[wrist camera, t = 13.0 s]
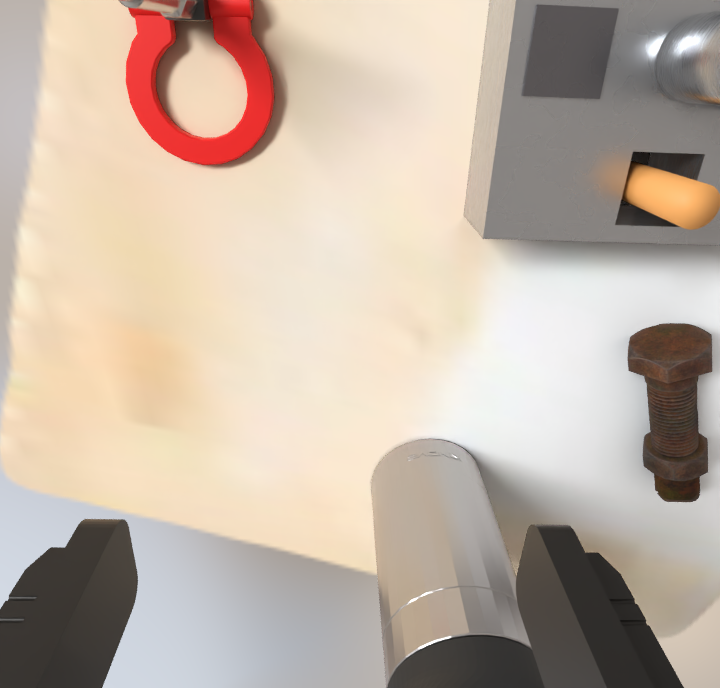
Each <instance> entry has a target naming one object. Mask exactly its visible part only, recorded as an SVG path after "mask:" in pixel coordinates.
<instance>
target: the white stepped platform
mask: <svg viewBox="0 0 720 688" xmlns="http://www.w3.org/2000/svg"><path fill="white" fill-rule="evenodd" d="M633 152H651V154H650V158H649V162H648V165H647V166H650V167H654V168H657V169H660V170H663V171H667V172H670V173H673V174H676V175H680V176H683V177H686V178H690V179H693V180H696V181H699V182H703V183H706V184H709V185H712V186H714V187H715V188H716V189H717V190H718V192H719V194H720V0H490V3H489V11H488V19H487V27H486V36H485V44H484V52H483V60H482V69H481V77H480V85H479V93H478V102H477V110H476V118H475V126H474V135H473V143H472V151H471V159H470V168H469V176H468V184H467V192H466V201H465V209H464V217H465V218H466V219H467V221H468V222H469V223H470V224H471V225H472V226H473V228H474V229H475V230H476V231H477V232H478V233H479V235H480V236H481V237H482V238H483V239H517V240H551V241H586V242H621V243H655V244H690V245H720V208H719V211H718V213H717V214H716V216H715V217H714V219H713V220H712V221H711V222H709V223H708V224H707V225H705V226H703V227H701V228H699V229H694V230H689V229H685V228H682V227H680V226H678V225H676V224H673V223H671V222H669V221H667V220H665V219H662V218H660V217H658V216H656V215H654V214H652V213H649V212H647V211H645V210H643V209H641V208H638V207H636V206H620V203H621V199H622V195H623V191H624V187H625V182H626V178H627V174H628V170H629V166H630V162H631V158H632V154H633Z"/></svg>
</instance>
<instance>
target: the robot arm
mask: <svg viewBox="0 0 720 688" xmlns="http://www.w3.org/2000/svg"><path fill="white" fill-rule="evenodd" d="M371 492H372V506H373V522H374V535H375V549H376V562H377V575H378V588H379V601H380V614H381V627H382V640H383V650H384V663H385V677H386V688H684V687H683V686H682V684H681V682H680V680H679V678H678V677H677V675H676V673H675V671H674V669H673V668H672V666H671V664H670V662H669V660H668V659H667V657H666V655H665V653H664V651H663V650H662V648H661V646H660V644H659V642H658V641H657V639H656V637H655V635H654V633H653V632H652V630H651V628H650V626H647V624H646V619H645V617H644V616H643V614H642V612H641V610H640V608H639V607H638V605H637V604H635V602H634V598H633V596H632V594H631V592H630V590H629V589H628V587H627V585H626V583H625V581H624V580H623V578H622V576H621V574H620V573H619V572H618V571H617V570H616V569H615V568H613V567H612V566H611V565H610V564H609V563H608V562H607V561H606V560H605V559H604V558H603V557H602V556H601V555H600V554H599V553H585V551H584V549H583V547H582V545H581V543H580V542H579V540H578V538H577V536H576V534H575V532H574V530H573V529H572V528H571V527H570V526H568V525H531V526H530V527H529V528H528V531H527V535H526V539H525V543H524V547H523V551H522V556H521V560H520V564H519V568H518V572H517V577H516V574H515V571H514V569H513V566H512V563H511V560H510V557H509V554H508V551H507V548H506V546H505V543H504V540H503V537H502V534H501V531H500V528H499V525H498V523H497V520H496V517H495V514H494V511H493V508H492V505H491V502H490V499H489V496H488V493H487V491H486V488H485V485H484V482H483V479H482V477H481V474H480V471H479V468H478V466H477V463H476V461H475V460H474V459H473V457H472V456H471V455H470V454H469V453H468V452H467V451H466V450H464V449H463V448H461V447H460V446H458V445H456V444H454V443H451V442H447V441H444V440H436V439H425V440H417V441H413V442H409V443H406V444H404V445H401V446H399V447H397V448H395V449H394V450H392V451H391V452H389V453H388V454H387V455H386V456H385V457H384V458H383V459H382V460H381V461H380V462H379V464H378V465H377V467H376V469H375V470H374V473H373V477H372V482H371ZM137 585H138V576H137V569H136V564H135V559H134V554H133V549H132V543H131V537H130V532H129V527H128V524H127V522H126V521H125V520H115V519H114V520H112V519H109V520H108V519H85V520H83V521H81V523H80V524H79V525H78V527H77V528H76V530H75V532H74V534H73V535H72V537H71V539H70V540H69V542H68V544H67V546H66V547H65V548H53V547H52V548H50V549H48V550H47V551H46V552H45V553H44V554H43V555H42V556H40V558H38V559H37V560H36V561H35V562H34V563H32V564H31V565H30V566H29V567H28V568H27V569H26V570H25V571H24V573H23V574H22V576H21V578H20V579H19V581H18V582H17V584H16V585H15V587H14V588H13V590H12V592H11V593H10V595H9V599H8V601H5V603H4V604H3V606H2V607H1V609H0V688H102V687H103V684H104V681H105V679H106V676H107V674H108V671H109V669H110V666H111V663H112V661H113V658H114V656H115V653H116V650H117V648H118V645H119V643H120V640H121V637H122V635H123V632H124V630H125V627H126V625H127V622H128V619H129V617H130V614H131V612H132V609H133V606H134V603H135V598H136V593H137Z"/></svg>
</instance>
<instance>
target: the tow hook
mask: <svg viewBox="0 0 720 688" xmlns="http://www.w3.org/2000/svg"><path fill="white" fill-rule="evenodd" d="M119 2H120V3H121V4H123V5H124V6H126V7H128V9H129V12H130V14H131V16H132V17H134V18H135V20H136V26H137V32H138V34H137V35H136V37H135V38H134V40H133V42H132V44H131V48H130V51H129V55H128V58H127V61H126V85H127V90H128V94H129V99H130V103H131V105H132V108H133V110H134V112H135V114H136V116H137V118H138V120H139V122H140V124H141V125H142V126H143V128H144V129H145V130H146V132H147V133H148V134H149V135H150V137H151V138H152V139H153V140H154V141H155V142H156V143H158V144H159V145H160V146H161V147H162V148H164V149H165V150H166V151H167V152H169V153H171V154H173V155H175V156H177V157H179V158H181V159H183V160H185V161H189V162H193V163H197V164H202V165H211V164H223V163H226V162H229V161H232V160H235V159H238V158H239V157H241V156H242V155H244V154H245V153H246V152H248V151H249V150H251V149H252V148H253V147H254V146H255V144H256V143H257V142H258V141H259V139H260V138H261V137H262V136H263V134H264V133H265V131H266V128H267V126H268V124H269V121H270V119H271V117H272V111H273V104H274V86H273V76H272V73H271V70H270V68H269V65H268V62H267V59H266V56H265V54H264V53H263V51H262V50H261V48H260V46H259V45H258V43H257V42H256V40H255V38H254V37H253V36H252V30H251V20H252V19H253V14H254V8H253V0H119ZM212 20H213V29H214V39H215V40H216V42H217V43H218V44H219V45H221V46H223V47H224V48H225V49H226V50H227V51H228V52H229V53H230V54H231V55H232V56H233V57H234V58H235V60H236V61H237V63H238V64H239V66H240V67H241V69H242V72H243V75H244V77H245V80H246V85H247V93H248V97H247V105H246V110H245V112H244V115H243V117H242V119H241V121H240V122H239V123H238V125H237V126H236V127H235V128H234V129H233V130H231V131H230V132H229V133H227V134H225V135H222V136H219V137H215V138H203V137H198V136H194V135H191V134H190V133H188V132H186V131H184V130H182V129H181V128H179V127H178V126H177V125H176V124H175V123H174V122H172V121H171V119H170V118H169V117H168V115H167V114H166V113H165V111H164V110H163V108H162V105H161V103H160V101H159V99H158V95H157V89H156V70H157V67H158V64H159V61H160V58H161V57H162V55H163V54H164V53H165V51H166V50H167V48H169V47H170V46H171V45H173V44H174V43H175V40H176V32H175V24H174V21H212Z"/></svg>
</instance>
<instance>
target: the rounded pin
mask: <svg viewBox="0 0 720 688" xmlns="http://www.w3.org/2000/svg"><path fill="white" fill-rule="evenodd" d="M621 200H623V201H625V202H627V203H630V204H632V205H634V206H636V207H638V208H641V209H643V210H645V211H647V212H649V213H652V214H654V215H656V216H658V217H660V218H662V219H665V220H667V221H669V222H671V223H673V224H676V225H678V226H680V227H682V228H685V229H689V230H694V229H699V228H701V227H703V226H705V225H707V224H708V223H709V222H711V221H712V220H713V219H714V217H715V216H716V214H717V213H718V211H719V208H720V194H719V192H718V190H717V189H716V188H715V187H714V186H712V185H709V184H706V183H703V182H699V181H696V180H693V179H690V178H686V177H683V176H680V175H676V174H673V173H670V172H667V171H663V170H660V169H657V168H654V167H650V166H647V165H644V164H640V163H637V162H634V161H631V162H630V166H629V170H628V174H627V178H626V182H625V187H624V191H623V195H622V199H621Z"/></svg>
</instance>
